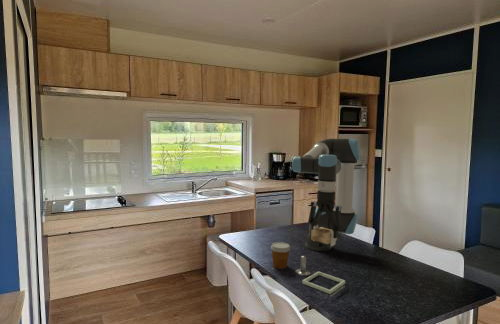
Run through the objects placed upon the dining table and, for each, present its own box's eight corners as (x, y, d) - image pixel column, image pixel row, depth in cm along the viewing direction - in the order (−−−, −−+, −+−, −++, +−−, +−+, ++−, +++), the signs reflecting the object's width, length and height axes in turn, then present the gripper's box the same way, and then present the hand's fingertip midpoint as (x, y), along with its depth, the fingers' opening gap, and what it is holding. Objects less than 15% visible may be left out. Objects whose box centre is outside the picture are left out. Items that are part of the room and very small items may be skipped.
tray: (318, 277, 148) (318, 271, 148) (345, 286, 139) (345, 280, 139) (302, 286, 138) (302, 280, 138) (330, 297, 129) (330, 291, 129)
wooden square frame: (311, 239, 137) (311, 230, 137) (322, 235, 144) (322, 226, 144) (327, 244, 132) (327, 234, 132) (338, 239, 138) (338, 230, 138)
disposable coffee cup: (274, 273, 151) (274, 249, 150) (267, 265, 160) (268, 242, 159) (292, 271, 153) (293, 247, 152) (285, 264, 162) (286, 241, 161)
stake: (300, 270, 155) (301, 252, 154) (313, 275, 150) (313, 256, 149) (292, 274, 150) (293, 256, 149) (305, 279, 145) (305, 260, 144)
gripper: (301, 188, 140) (299, 238, 142) (344, 195, 126) (341, 250, 128) (310, 186, 146) (308, 235, 147) (353, 193, 131) (350, 246, 133)
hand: (323, 242), depth 138 cm, fingers closed on wooden square frame, 8 cm apart
